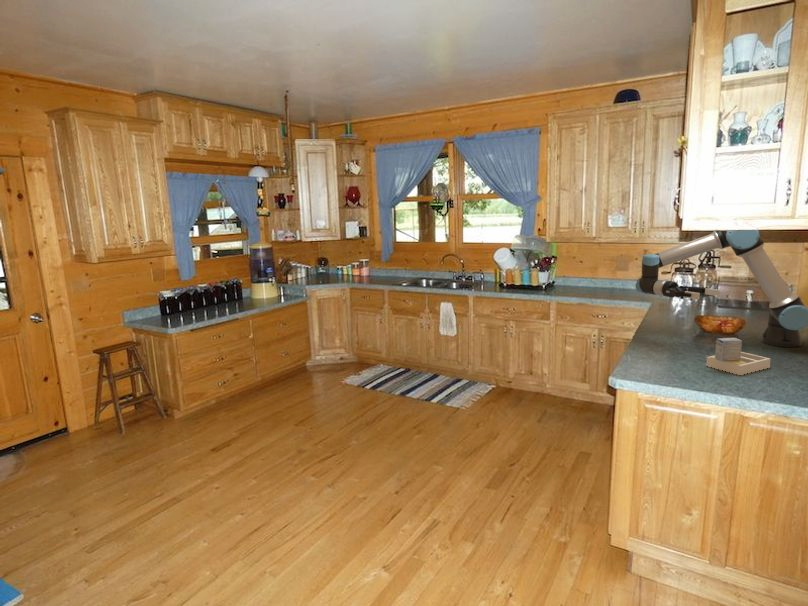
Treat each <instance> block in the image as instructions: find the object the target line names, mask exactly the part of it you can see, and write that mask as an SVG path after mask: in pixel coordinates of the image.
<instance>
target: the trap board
mask: <svg viewBox="0 0 808 606" xmlns="http://www.w3.org/2000/svg"><path fill="white" fill-rule="evenodd" d="M705 366H706V367H707V366H708V368H711V367H712V368H711V369H714V368H715V370H718V369H719V370H718V371H722V370H723V371H722V372H725V371H726V372H725V373H729V372H730V373H729V374H732V373H733V374H732V375H736V374H737V376H739V375H741V376H744V374H745V375H748V374H752V373H755V371H756V372H760V371H762V370H763V369H764V370H766V369H767V368H768V369H770V368H771V367H770V366H771V358H769V357H765V356H761V355H757V354H754V353H747V352H743V351H741V358H740V360H737V361H719V360H717V359H715V354H714V355H711V356H707V357H706V365H705ZM759 370H760V371H759ZM751 372H752V373H751ZM747 373H748V374H747Z"/></svg>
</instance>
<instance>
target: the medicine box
mask: <svg viewBox="0 0 808 606" xmlns="http://www.w3.org/2000/svg"><path fill="white" fill-rule="evenodd" d="M715 340H716V341H715V350H714V351H715V352H714V353H715V354H714V355H715V359H717V360H719V361H737V360H740V358H741V352H742V348H743V347H742V345H743V340H741V339H739V338H737V337H722V338H716V339H715Z"/></svg>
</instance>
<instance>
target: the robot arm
mask: <svg viewBox="0 0 808 606" xmlns="http://www.w3.org/2000/svg"><path fill="white" fill-rule="evenodd" d="M764 245H765V241H764V240H763V238H762V237H761V235H760V231H759V229H758V230H740V231H714V230H713V231H712V233H710V234H707V235H704V236H702V237H698V238H696V239H694V240H691V241H688V242H685V243H682V244H680V245H679V244H678V245H677V246H673V247H670V248H668V249H665V250H662V251H660V252H657V253H654V254H653V253H652V254H651V253H649V254H644V255H642V259H641V277H639V278H638V279H637V280H636V283H635V289H636V291H638V293H642V294H643V293H644V294H647V295H654V296H655V295H656V296H659V297H660V298H661V297H668V298H678V299H679V298H680V299H681V300H683V299H684V298H688V299H693V300H700V298H701V297H700V294H704V295H708V296H714V297H715V296H716V297H721V289H714V288H709V287H708V286H705V287H702V286H689V285H688V286H687V285H685V286H683V285H679V284H678V283H677V282H676V281H672V280H671V281H670V280H665V279H659V271H660V268H663V267H666V266H668V265H671V264H675V263H678V262H681V261H684V260H687V259H689V258H692V257H696V256H698V255H700V254H704V253H706V252H711V251H713V250H716V249H721V250H723V249H725V248H729V247H730V248H731V249H732V251H733V252H734V254H735V256H737V257H739V258H742V259H743V261H744V262H745V265H747V267H748V268H749V270H750V272H751V274H752V275H753V276H754V278H755V280H756V282H757V283H758V285H759V286H760V288H761V289H762V291H763V292H764V293H765V296H766V297H767V298H768V300H769V305H768V307H769V310H768V319H767V320H768V321H767V327H766V328H765V330H764V332H763V334H762V336H761V342H762V343H764V344H766V345H770V346H776V347H781V348H782V347H783V348H798V347H801V346H802V338H801V334H800V330H802V329H805V328H807V327H808V307H806V305H805V304H804V302H803V301H802V297H800V296H799V295H798V294H796V293H793V292H792V291H791V290H790V288H789V287H788V285H787V284H786V281H785V280H784V279H783V277H782V275H781V274H780V272H779V271H778V270H777V269H778V268H776V266H775V265H774V263H773V261H772V260H771V258H770V257H769V255H768V254H767V252H766V251H765V249H764ZM797 346H798V347H797Z"/></svg>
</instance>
